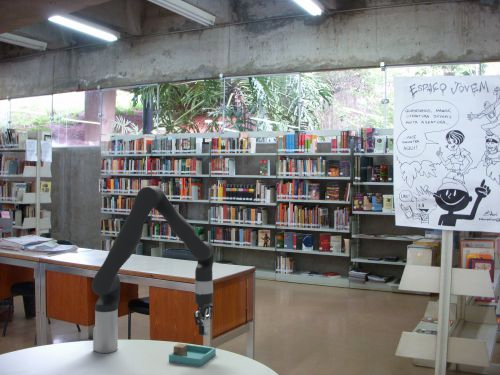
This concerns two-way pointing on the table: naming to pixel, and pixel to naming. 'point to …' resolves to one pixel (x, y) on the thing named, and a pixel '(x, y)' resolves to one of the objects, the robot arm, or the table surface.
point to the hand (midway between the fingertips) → (203, 332)
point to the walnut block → (180, 349)
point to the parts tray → (194, 355)
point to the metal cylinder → (206, 327)
